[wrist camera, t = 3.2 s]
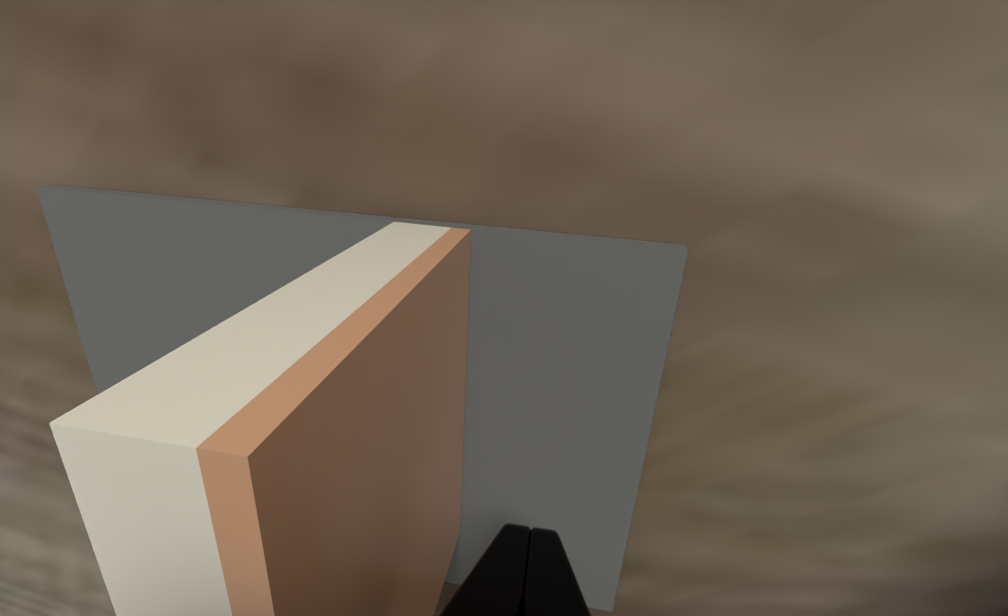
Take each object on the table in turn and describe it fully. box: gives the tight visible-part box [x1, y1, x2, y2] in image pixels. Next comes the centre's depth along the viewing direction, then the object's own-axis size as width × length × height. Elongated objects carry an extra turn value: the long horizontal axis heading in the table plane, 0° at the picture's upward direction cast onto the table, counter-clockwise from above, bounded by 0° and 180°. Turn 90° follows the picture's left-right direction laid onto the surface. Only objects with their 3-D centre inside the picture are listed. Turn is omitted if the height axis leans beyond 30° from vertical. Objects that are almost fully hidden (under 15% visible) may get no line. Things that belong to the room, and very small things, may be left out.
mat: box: [36, 185, 688, 612], centre depth 12 cm, size 14×10×1 cm
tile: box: [49, 222, 471, 616], centre depth 8 cm, size 2×8×7 cm, turn 176°
